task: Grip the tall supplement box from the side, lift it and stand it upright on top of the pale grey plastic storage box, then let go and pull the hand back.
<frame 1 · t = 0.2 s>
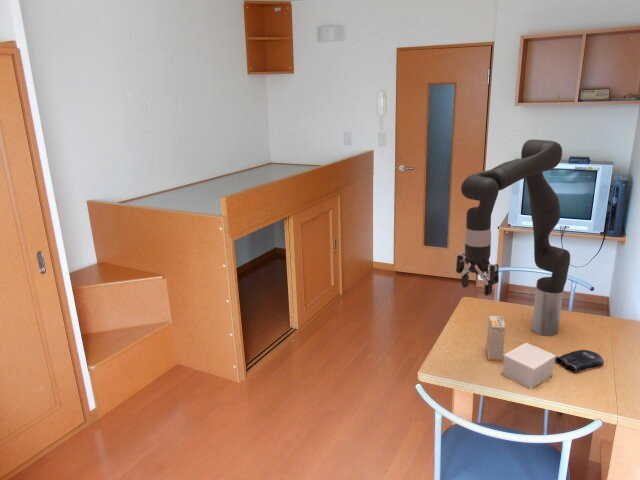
hand: (476, 290, 155), 29 cm above the table, tool pointing down, fingers open, 8 cm apart
electronic device: (580, 364, 166), on the table
supplement box: (494, 355, 172), on the table
storage box: (527, 374, 160), on the table
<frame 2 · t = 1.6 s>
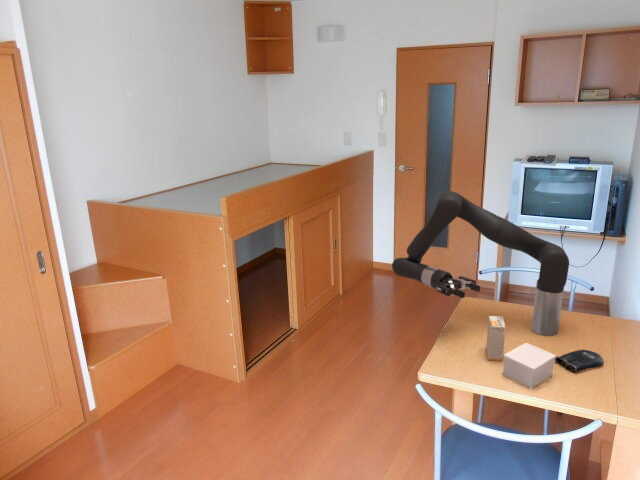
hand: (472, 292, 175), 20 cm above the table, tool horizontal, fingers open, 8 cm apart
nothing on the table moved.
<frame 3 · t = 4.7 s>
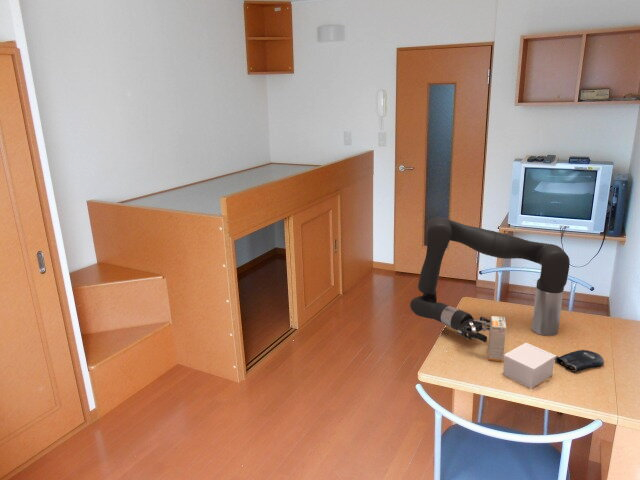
hand: (494, 335, 171), 7 cm above the table, tool horizontal, fingers open, 8 cm apart
supplement box: (495, 355, 172), on the table, touching gripper
everything else where it was.
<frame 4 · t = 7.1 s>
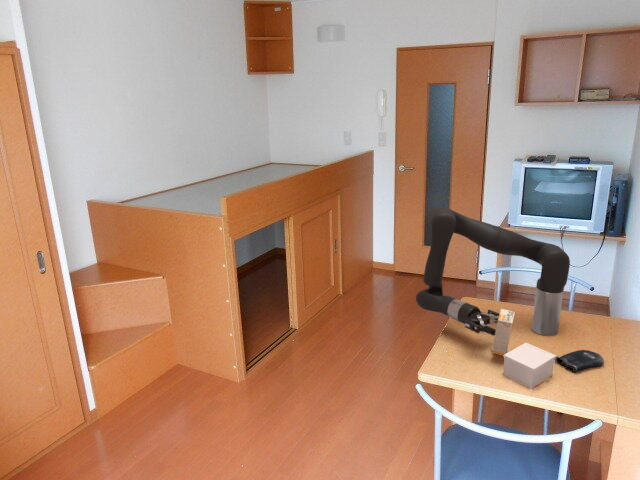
hand: (502, 328, 167), 11 cm above the table, tool horizontal, fingers closed on supplement box, 8 cm apart
supplement box: (499, 348, 170), point 3 cm above the table, touching gripper
everything else where it was.
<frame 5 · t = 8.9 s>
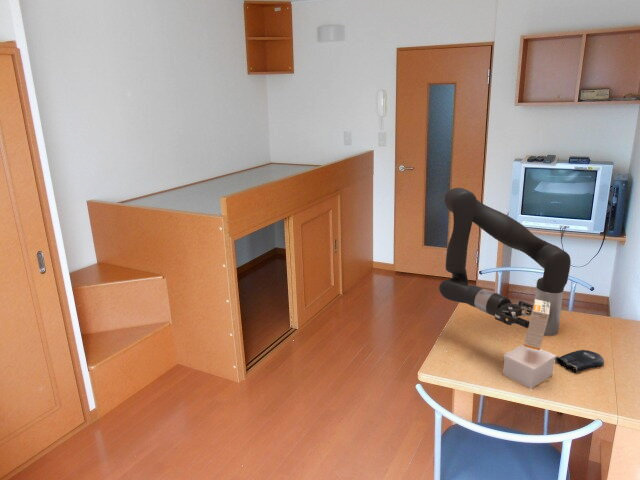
hand: (536, 321, 154), 20 cm above the table, tool horizontal, fingers closed on supplement box, 8 cm apart
supplement box: (532, 342, 156), point 12 cm above the table, touching gripper
everything else where it was.
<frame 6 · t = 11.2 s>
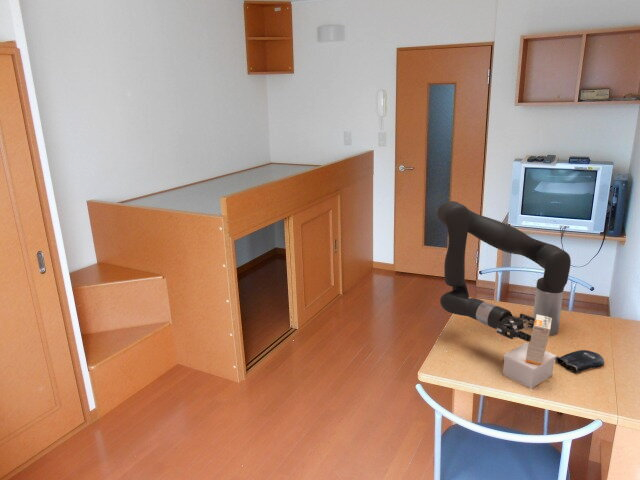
hand: (538, 334, 154), 15 cm above the table, tool horizontal, fingers closed on supplement box, 8 cm apart
supplement box: (534, 357, 157), point 7 cm above the table, touching gripper, storage box
everything else where it was.
when the fingers open (15 cm above the table, at t = 11.3 s): supplement box stays where it is, resting on storage box.
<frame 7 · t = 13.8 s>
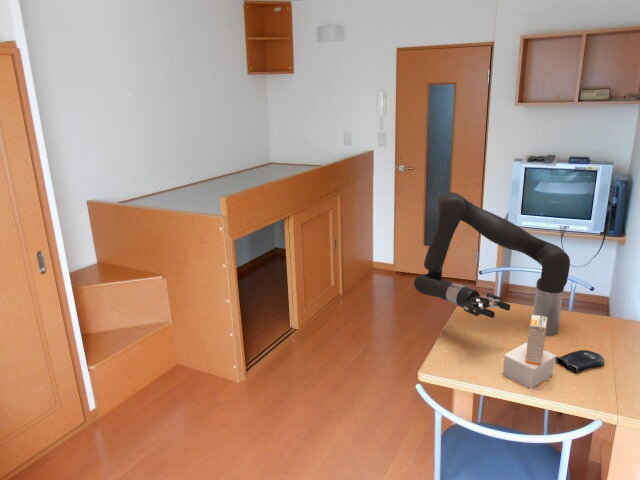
hand: (501, 311, 164), 18 cm above the table, tool horizontal, fingers open, 8 cm apart
supplement box: (534, 358, 157), point 7 cm above the table, touching storage box
everything else where it was.
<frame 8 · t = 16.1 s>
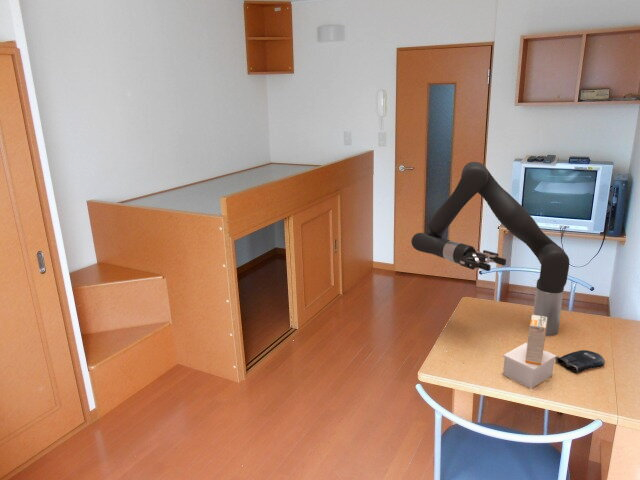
hand: (497, 265, 166), 32 cm above the table, tool horizontal, fingers open, 8 cm apart
nothing on the table moved.
at the end: supplement box inside the target area on the storage box (1.7 cm from its centre), point 7.0 cm above the storage box's base; supplement box tilted 0°; the gripper is holding nothing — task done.
